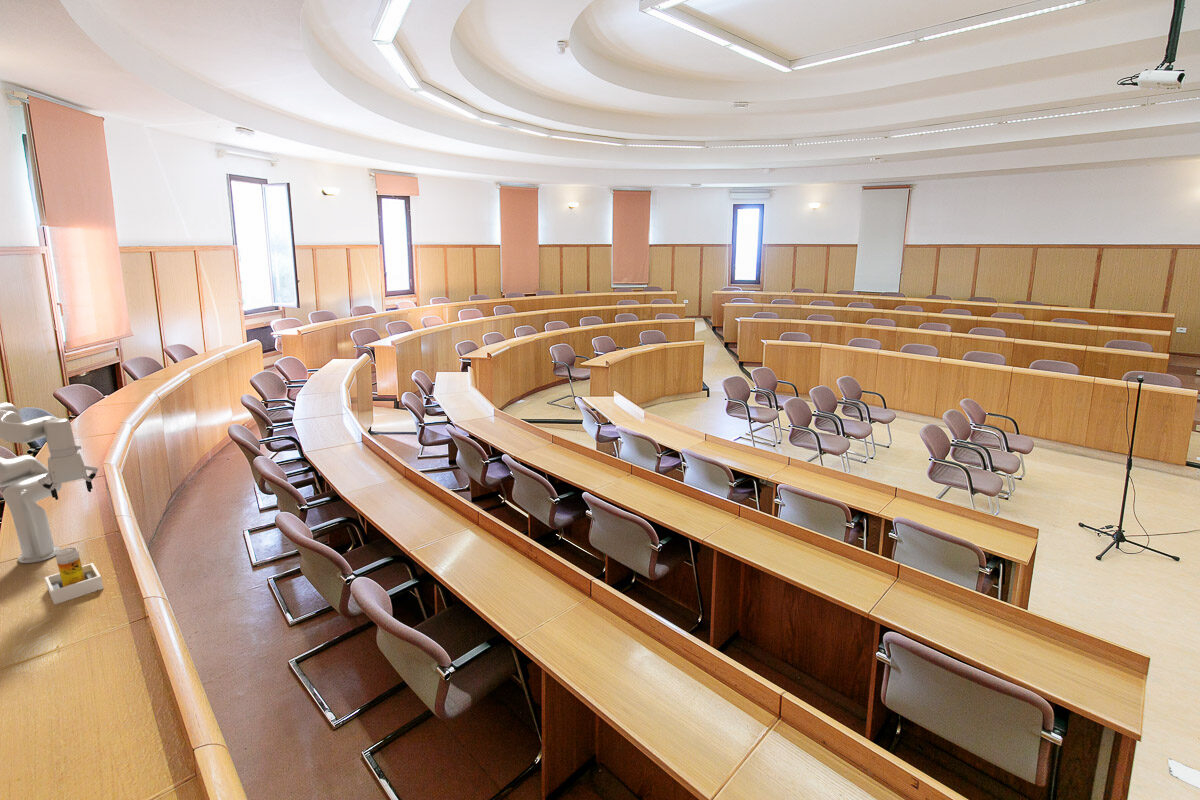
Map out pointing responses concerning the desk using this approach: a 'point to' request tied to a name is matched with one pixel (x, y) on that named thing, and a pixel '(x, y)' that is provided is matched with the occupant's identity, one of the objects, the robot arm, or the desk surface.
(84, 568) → the socket box
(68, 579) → the beer can
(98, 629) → the desk surface
